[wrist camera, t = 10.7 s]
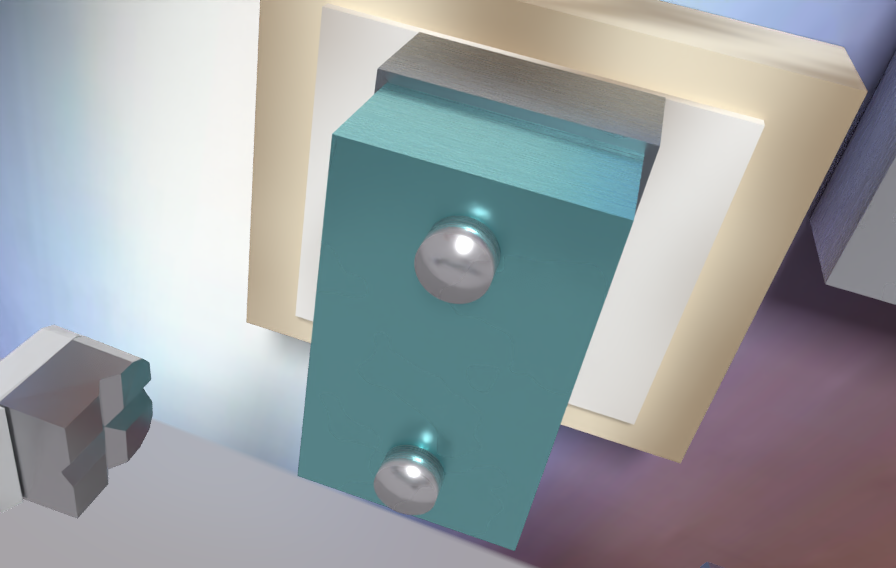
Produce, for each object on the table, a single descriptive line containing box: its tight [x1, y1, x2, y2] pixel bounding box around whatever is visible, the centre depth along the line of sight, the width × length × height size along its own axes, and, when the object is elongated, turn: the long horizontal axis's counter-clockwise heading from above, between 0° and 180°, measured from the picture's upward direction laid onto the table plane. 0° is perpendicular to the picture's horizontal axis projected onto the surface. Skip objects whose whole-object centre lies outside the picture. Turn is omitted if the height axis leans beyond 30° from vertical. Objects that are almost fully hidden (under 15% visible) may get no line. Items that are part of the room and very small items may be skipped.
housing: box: [298, 32, 666, 551], centre depth 15 cm, size 5×8×6 cm, turn 170°
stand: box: [247, 0, 868, 463], centre depth 19 cm, size 12×10×3 cm
